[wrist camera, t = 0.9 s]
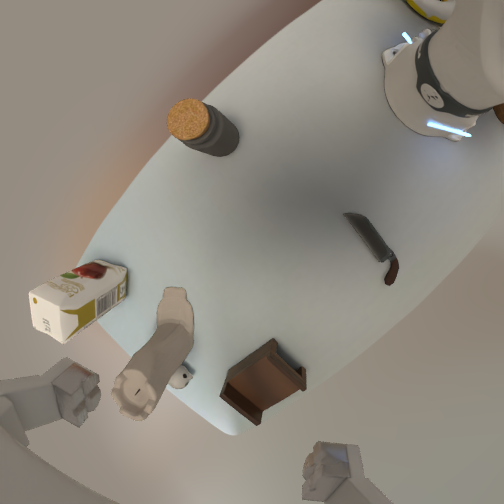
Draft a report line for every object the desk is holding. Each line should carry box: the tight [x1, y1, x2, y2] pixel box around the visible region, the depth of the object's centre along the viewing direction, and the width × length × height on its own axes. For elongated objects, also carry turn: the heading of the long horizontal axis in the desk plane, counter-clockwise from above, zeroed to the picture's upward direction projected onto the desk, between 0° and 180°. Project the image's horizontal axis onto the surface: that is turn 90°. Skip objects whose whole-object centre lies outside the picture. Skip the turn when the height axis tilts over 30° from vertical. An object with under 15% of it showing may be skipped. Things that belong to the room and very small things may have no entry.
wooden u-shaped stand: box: [219, 339, 306, 426], centre depth 47 cm, size 11×9×8 cm
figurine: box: [168, 365, 193, 389], centre depth 51 cm, size 5×5×5 cm
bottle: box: [167, 99, 239, 156], centre depth 36 cm, size 6×6×15 cm
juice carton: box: [29, 260, 127, 344], centre depth 42 cm, size 8×9×19 cm
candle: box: [111, 287, 194, 421], centre depth 41 cm, size 7×14×20 cm, turn 175°
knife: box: [343, 213, 399, 286], centre depth 43 cm, size 14×4×1 cm, turn 42°
